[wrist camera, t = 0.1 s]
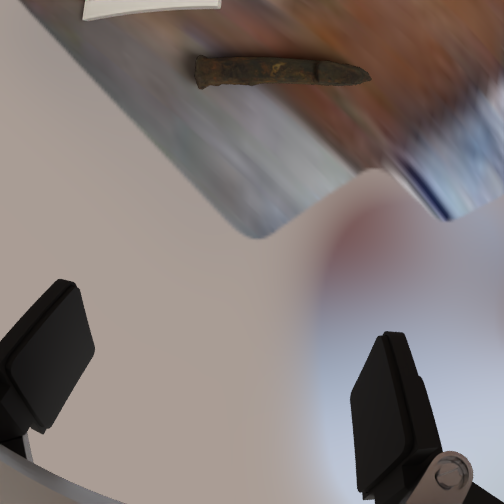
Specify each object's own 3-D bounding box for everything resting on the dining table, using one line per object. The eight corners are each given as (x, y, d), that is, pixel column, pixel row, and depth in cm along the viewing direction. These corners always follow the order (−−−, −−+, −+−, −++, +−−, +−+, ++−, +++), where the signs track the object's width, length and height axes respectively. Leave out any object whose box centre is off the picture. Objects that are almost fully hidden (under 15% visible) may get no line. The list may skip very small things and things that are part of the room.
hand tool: (201, 88, 34) (190, 89, 30) (202, 56, 32) (191, 53, 28) (364, 102, 33) (374, 104, 29) (367, 69, 31) (377, 67, 27)
